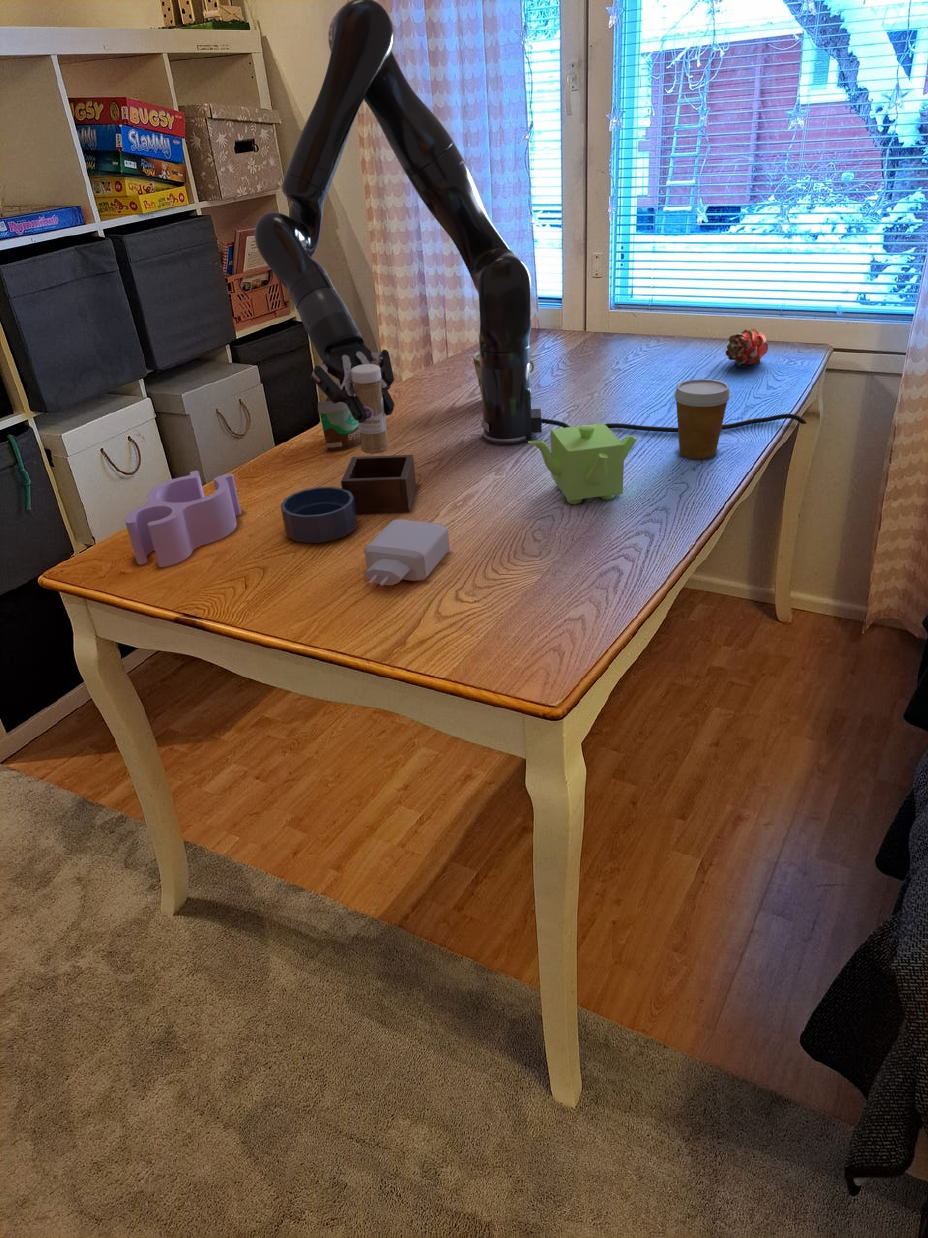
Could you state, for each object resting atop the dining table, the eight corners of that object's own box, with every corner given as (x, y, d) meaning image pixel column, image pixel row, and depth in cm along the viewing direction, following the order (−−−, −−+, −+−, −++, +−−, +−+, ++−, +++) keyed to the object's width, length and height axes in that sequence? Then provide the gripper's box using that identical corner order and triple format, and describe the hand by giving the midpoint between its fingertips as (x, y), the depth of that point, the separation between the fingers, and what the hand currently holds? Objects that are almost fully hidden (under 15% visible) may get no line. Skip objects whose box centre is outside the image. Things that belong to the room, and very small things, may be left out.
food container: (355, 454, 167) (348, 402, 162) (324, 453, 168) (316, 402, 163) (373, 431, 177) (367, 382, 172) (344, 431, 178) (337, 382, 173)
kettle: (605, 518, 136) (606, 449, 131) (525, 502, 144) (523, 436, 138) (644, 483, 147) (647, 417, 141) (568, 469, 154) (568, 407, 148)
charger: (347, 595, 121) (393, 546, 133) (408, 604, 118) (450, 553, 130) (342, 564, 119) (390, 518, 130) (404, 573, 115) (447, 524, 127)
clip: (185, 570, 131) (174, 527, 127) (116, 561, 134) (103, 520, 131) (254, 513, 146) (246, 474, 143) (191, 507, 150) (181, 469, 147)
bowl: (362, 514, 144) (358, 485, 141) (350, 545, 134) (346, 515, 132) (295, 516, 145) (290, 487, 142) (278, 547, 135) (273, 517, 133)
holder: (416, 486, 152) (413, 454, 149) (409, 512, 143) (405, 478, 140) (356, 488, 153) (352, 456, 150) (345, 514, 144) (340, 481, 141)
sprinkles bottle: (360, 455, 141) (349, 372, 134) (362, 445, 145) (351, 364, 138) (389, 453, 141) (379, 370, 134) (389, 443, 145) (380, 361, 138)
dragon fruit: (729, 378, 197) (750, 372, 205) (763, 359, 191) (783, 353, 199) (713, 344, 196) (734, 339, 205) (746, 323, 190) (767, 319, 199)
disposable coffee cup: (730, 446, 158) (736, 379, 152) (719, 465, 151) (725, 396, 145) (677, 441, 162) (681, 376, 156) (664, 460, 155) (668, 392, 149)
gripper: (294, 319, 134) (344, 414, 132) (374, 302, 141) (422, 393, 139) (284, 348, 141) (331, 439, 139) (361, 330, 148) (407, 417, 146)
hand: (377, 415), depth 139 cm, fingers closed on sprinkles bottle, 4 cm apart
